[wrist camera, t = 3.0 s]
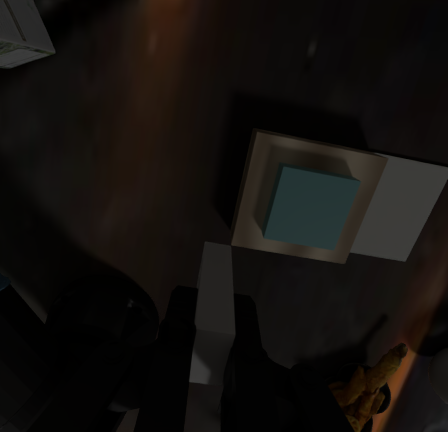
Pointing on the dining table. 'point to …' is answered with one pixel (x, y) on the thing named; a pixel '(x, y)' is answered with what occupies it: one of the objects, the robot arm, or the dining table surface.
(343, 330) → the dining table surface
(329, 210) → the teal block
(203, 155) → the dining table surface
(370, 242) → the mat
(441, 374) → the donut
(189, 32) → the dining table surface
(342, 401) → the fried shrimp in bowl
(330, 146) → the serving board
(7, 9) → the syrup box
